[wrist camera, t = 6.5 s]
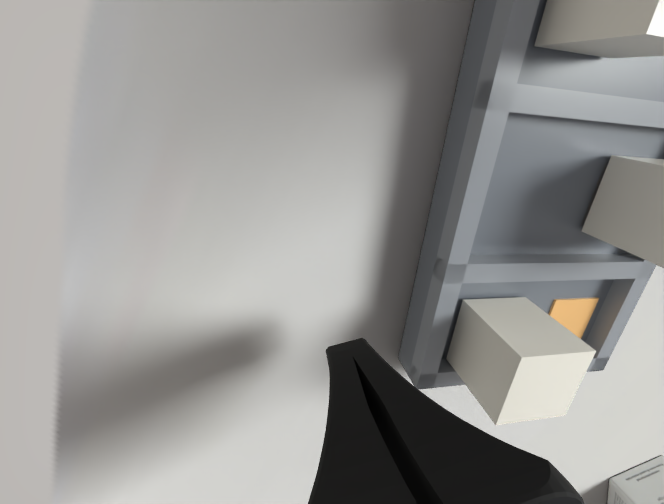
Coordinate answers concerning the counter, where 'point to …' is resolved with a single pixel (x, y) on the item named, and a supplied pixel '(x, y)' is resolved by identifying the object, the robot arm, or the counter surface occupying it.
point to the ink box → (639, 484)
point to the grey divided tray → (530, 188)
